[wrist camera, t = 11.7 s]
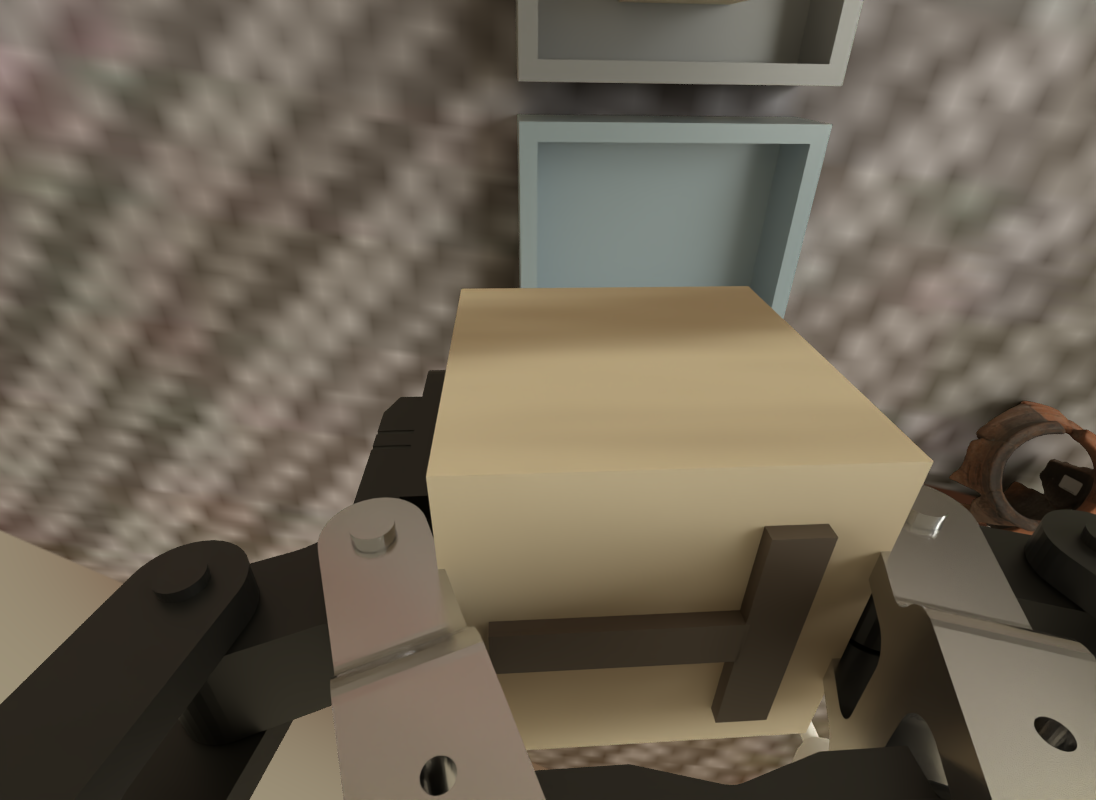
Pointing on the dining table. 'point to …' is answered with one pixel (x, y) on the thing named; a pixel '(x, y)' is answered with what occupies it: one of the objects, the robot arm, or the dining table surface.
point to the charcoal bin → (686, 41)
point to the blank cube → (687, 1)
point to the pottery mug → (1018, 502)
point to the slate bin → (666, 200)
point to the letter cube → (657, 509)
